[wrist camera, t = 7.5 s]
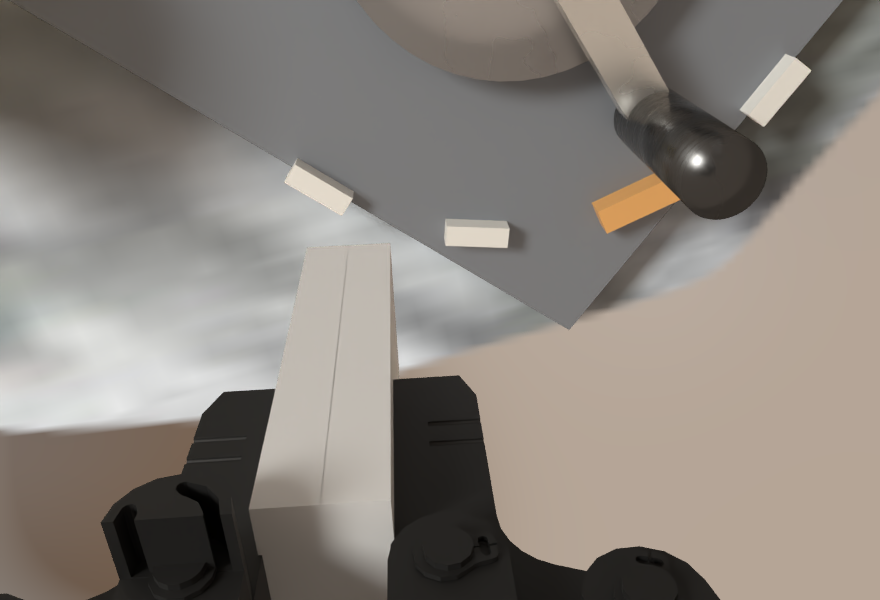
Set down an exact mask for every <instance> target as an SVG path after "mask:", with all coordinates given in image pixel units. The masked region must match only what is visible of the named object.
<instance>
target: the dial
mask: <svg viewBox="0 0 880 600" xmlns="http://www.w3.org/2000/svg"><path fill="white" fill-rule="evenodd" d="M658 1H659V0H357V2H358V3H359V4H360V6H361V7H362V8H363V9H364V11H365V12H366V13H367V14H368V16H369V17H370V18H371V19H372V20H373V22H374V23H375V24H376V25H377V26H378V27H379V28H380V29H381V30H383V31H384V32H385V33H386V34H387V35H388V36H389V37H390V38H391V39H392V40H393V41H395V42H396V43H397V44H399V45H400V46H401V47H403V48H404V49H405V50H407V51H408V52H409V53H411V54H412V55H414V56H416V57H418V58H420V59H421V60H423V61H425V62H427V63H429V64H430V65H432V66H435V67H438V68H440V69H443V70H445V71H448V72H450V73H453V74H456V75H461V76H465V77H469V78H473V79H479V80H488V81H498V82H502V81H524V80H530V79H536V78H542V77H546V76H550V75H553V74H556V73H560V72H563V71H566V70H569V69H571V68H573V67H575V66H578V65H580V64H582V63H584V62H586V61H589V62H590V63H591V65H592V67H593V68H594V70H595V72H596V74H597V75H598V77H599V79H600V80H601V82H602V84H603V86H604V87H605V89H606V91H607V92H608V94H609V96H610V98H611V99H612V101H613V103H614V104H615V106H616V109H615V112H614V128H615V131H616V134H617V136H618V137H619V138H620V140H621V141H622V142H623V143H624V144H625V145H626V146H627V147H628V148H629V149H630V150H631V151H632V152H633V153H634V154H635V155H636V156H637V157H638V158H639V159H640V160H641V161H642V162H643V163H644V164H645V165H646V166H647V167H648V168H649V169H650V170H651V171H652V172H653V173H654V174H655V175H656V176H657V177H658V178H659V179H660V180H661V181H662V182H663V183H664V184H665V185H666V186H667V187H668V188H669V189H670V190H671V191H672V192H673V193H674V194H675V195H676V196H677V197H678V198H679V199H680V200H681V201H682V202H683V203H684V204H685V205H686V206H687V207H688V208H689V209H690V210H691V211H692V212H694V213H695V214H697V215H698V216H700V217H703V218H707V219H714V220H718V219H726V218H729V217H732V216H735V215H737V214H739V213H741V212H742V211H744V210H745V209H747V208H748V207H749V206H750V205H751V204H752V203H753V202H754V201H755V200H756V199H757V197H758V196H759V194H760V193H761V191H762V189H763V187H764V184H765V181H766V177H767V163H766V158H765V156H764V154H763V152H762V150H761V149H760V148H759V147H758V146H757V145H756V144H755V143H754V142H752V141H751V140H749V139H748V138H746V137H745V136H743V135H742V134H740V133H738V132H737V131H735V130H734V129H732V128H731V127H729V126H728V125H726V124H725V123H723V122H721V121H720V120H718V119H717V118H715V117H714V116H712V115H711V114H709V113H708V112H706V111H704V110H703V109H701V108H700V107H698V106H697V105H695V104H694V103H692V102H690V101H689V100H687V99H686V98H684V97H683V96H681V95H680V94H678V93H677V92H675V91H673V90H672V89H670V88H669V87H667V86H666V85H665V83H664V81H663V79H662V77H661V75H660V74H659V72H658V70H657V68H656V66H655V64H654V63H653V61H652V59H651V57H650V55H649V53H648V52H647V50H646V48H645V46H644V44H643V42H642V41H641V39H640V37H639V35H638V33H637V31H636V30H635V28H634V27H635V26H636V25H637V24H638V23H639V22H640V21H641V20H642V19H643V18H644V17H645V16H646V15H647V14H648V13H649V12H650V11H651V9H652V8H653V7H654V6H655V4H656V3H657V2H658Z"/></svg>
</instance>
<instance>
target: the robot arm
mask: <svg viewBox="0 0 880 600" xmlns="http://www.w3.org/2000/svg"><path fill="white" fill-rule="evenodd" d="M101 525H102V528H103V531H104V534H105V537H106V540H107V543H108V546H109V549H110V551H111V555H112V558H113V561H114V563H115V567H116V570H117V573H118V576H119V578H120V580H119V583H118V585H117V586H116V587H114V588H112V589H111V590H109V591H107V592H105V593H103V594H100V595H98V596H96V597H93V598H90V599H88V600H720V599H719V598H718V596H717V595H716V594H715V593H714V591H713V590H712V588H711V587H710V586H709V584H708V583H707V582H706V580H705V579H704V578H703V577H701V576H700V575H699V574H698V573H697V572H696V571H695V570H694V569H693V568H692V567H691V566H690V565H689V564H688V563H686V562H684V561H682V560H680V559H678V558H676V557H674V556H672V555H670V554H668V553H666V552H664V551H660V550H655V549H649V548H645V547H630V548H620V549H615V550H613V551H611V552H609V553H606V554H605V555H602V556H600V557H598V558H597V559H596V560H595V561H594V563H593V564H592V565H591V566H590V568H589V569H588V570H587V571H583V570H578V569H573V568H569V567H564V566H559V565H554V564H551V563H548V562H545V561H541V560H538V559H536V558H534V557H532V556H530V555H528V554H527V553H525V552H523V551H521V550H520V549H519V548H518V547H516V546H515V545H514V544H513V543H512V542H510V541H509V539H508V538H507V536H506V535H505V534H504V532H503V531H502V530H501V528H500V525H499V521H498V519H497V515H496V509H495V504H494V498H493V492H492V486H491V480H490V474H489V468H488V463H487V456H486V450H485V445H484V441H483V433H482V427H481V423H480V415H479V409H478V403H477V397H476V394H475V393H474V392H473V391H472V390H471V389H470V387H469V386H468V385H467V384H466V383H465V382H464V381H463V380H462V379H461V377H460V376H443V377H427V378H410V379H399V364H398V349H397V335H396V321H395V307H394V292H393V278H392V264H391V250H390V243H384V244H365V245H347V246H328V247H309V248H307V251H306V255H305V259H304V264H303V268H302V273H301V277H300V282H299V286H298V291H297V295H296V300H295V304H294V309H293V313H292V318H291V322H290V327H289V331H288V336H287V340H286V344H285V349H284V353H283V358H282V362H281V367H280V371H279V376H278V380H277V385H276V389H265V390H249V391H232V392H223V393H222V394H221V395H220V396H219V397H218V398H217V400H216V401H215V402H214V403H213V404H212V405H211V406H210V407H209V408H208V409H207V410H206V411H205V412H204V413H203V414H202V416H201V419H200V422H199V425H198V428H197V431H196V434H195V437H194V443H193V444H192V445H191V448H190V451H189V454H188V456H187V464H185V465H184V468H183V471H182V474H180V475H175V476H169V477H164V478H159V479H156V480H153V481H151V482H149V483H146V484H144V485H142V486H140V487H137V488H135V489H133V490H132V491H130V492H129V493H128V494H127V495H125V496H124V497H123V498H121V499H120V500H119V501H117V502H116V503H115V504H114V505H113V506H112V507H111V509H110V510H109V512H108V513H107V515H106V516H105V517H104V519H103V520H102V522H101ZM0 600H23V599H20V598H17V597H15V596H12V595H9V594H0Z"/></svg>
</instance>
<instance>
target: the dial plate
mask: <svg viewBox="0 0 880 600" xmlns="http://www.w3.org/2000/svg"><path fill="white" fill-rule="evenodd" d="M9 1H11V2H13V3H14V4H16V5H18V6H19V7H21V8H23V9H24V10H26V11H28V12H30V13H31V14H33V15H35V16H36V17H38V18H40V19H41V20H43V21H45V22H47V23H48V24H50V25H52V26H53V27H55V28H57V29H58V30H60V31H62V32H64V33H65V34H67V35H69V36H70V37H72V38H74V39H75V40H77V41H79V42H81V43H82V44H84V45H86V46H87V47H89V48H91V49H92V50H94V51H96V52H98V53H99V54H101V55H103V56H104V57H106V58H108V59H109V60H111V61H113V62H115V63H116V64H118V65H120V66H121V67H123V68H125V69H126V70H128V71H130V72H132V73H133V74H135V75H137V76H138V77H140V78H142V79H143V80H145V81H147V82H149V83H150V84H152V85H154V86H155V87H157V88H159V89H160V90H162V91H164V92H166V93H167V94H169V95H171V96H172V97H174V98H176V99H177V100H179V101H181V102H183V103H184V104H186V105H188V106H189V107H191V108H193V109H194V110H196V111H198V112H200V113H201V114H203V115H205V116H206V117H208V118H210V119H211V120H213V121H215V122H217V123H218V124H220V125H222V126H223V127H225V128H227V129H228V130H230V131H232V132H234V133H235V134H237V135H239V136H240V137H242V138H244V139H245V140H247V141H249V142H251V143H252V144H254V145H256V146H257V147H259V148H261V149H262V150H264V151H266V152H268V153H269V154H271V155H273V156H274V157H276V158H278V159H280V160H281V161H283V162H285V163H286V164H288V165H290V166H291V167H292V168H291V170H290V171H289V173H288V175H287V177H286V180H285V182H284V183H286V184H288V185H289V186H291V187H293V188H295V189H296V190H298V191H300V192H301V193H303V194H305V195H307V196H308V197H310V198H312V199H314V200H315V201H317V202H319V203H320V204H322V205H324V206H326V207H327V208H329V209H331V210H333V211H334V212H336V213H338V214H339V215H341V216H342V215H343V213H344V212H345V210H346V209H347V207H348V205H349V204H350V202H353V203H354V204H356V205H358V206H359V207H361V208H363V209H365V210H366V211H368V212H370V213H371V214H373V215H375V216H376V217H378V218H380V219H382V220H383V221H385V222H387V223H388V224H390V225H392V226H393V227H395V228H397V229H399V230H400V231H402V232H404V233H405V234H407V235H409V236H410V237H412V238H414V239H416V240H417V241H419V242H421V243H422V244H424V245H426V246H427V247H429V248H431V249H433V250H434V251H436V252H438V253H439V254H441V255H443V256H444V257H446V258H448V259H450V260H451V261H453V262H455V263H456V264H458V265H460V266H461V267H463V268H465V269H467V270H468V271H470V272H472V273H473V274H475V275H477V276H478V277H480V278H482V279H484V280H485V281H487V282H489V283H490V284H492V285H494V286H495V287H497V288H499V289H501V290H502V291H504V292H506V293H507V294H509V295H511V296H512V297H514V298H516V299H518V300H519V301H521V302H523V303H524V304H526V305H528V306H529V307H531V308H533V309H535V310H536V311H538V312H540V313H541V314H543V315H545V316H546V317H548V318H550V319H552V320H553V321H555V322H557V323H558V324H560V325H562V326H563V327H565V328H567V329H570V328H571V327H572V326H573V325H574V323H575V322H576V321H577V320H578V319H579V317H580V316H581V315H582V314H583V313H584V311H585V310H586V309H587V308H588V307H589V305H590V304H591V303H592V302H593V301H594V299H595V298H596V297H597V296H598V295H599V293H600V292H601V291H602V290H603V289H604V287H605V286H606V285H607V284H608V283H609V281H610V280H611V279H612V278H613V276H614V275H615V274H616V273H617V272H618V270H619V269H620V268H621V267H622V266H623V264H624V263H625V262H626V261H627V260H628V258H629V257H630V256H631V255H632V254H633V252H634V251H635V250H636V249H637V248H638V246H639V245H640V244H641V243H642V242H643V240H644V239H645V238H646V237H647V236H648V234H649V233H650V232H651V231H652V230H653V228H654V227H655V226H656V225H657V224H658V222H659V221H660V220H661V219H662V217H663V216H664V215H665V214H666V213H667V211H668V210H669V209H670V208H671V207H672V205H673V204H674V203H675V202H677V201H679V200H680V199H679V198H678V197H677V196H676V195H675V194H674V193H673V192H672V191H671V190H670V189H669V188H668V187H667V186H666V185H665V184H664V183H663V182H662V181H661V180H660V179H659V178H658V177H657V176H656V175H655V174H654V173H653V172H652V171H651V170H650V169H649V168H648V167H647V166H646V165H645V164H644V163H643V162H642V161H641V160H640V159H639V158H638V157H637V156H636V155H635V154H634V153H633V152H632V151H631V150H630V149H629V148H628V147H627V146H626V145H625V144H624V143H623V142H622V141H621V140H620V138H619V137H618V136H617V134H616V131H615V128H614V112H615V109H616V106H615V104H614V103H613V101H612V99H611V98H610V96H609V94H608V92H607V91H606V89H605V87H604V86H603V84H602V82H601V80H600V79H599V77H598V75H597V74H596V72H595V70H594V68H593V67H592V65H591V63H590V62H589V61H586V62H584V63H582V64H580V65H578V66H575V67H573V68H571V69H569V70H566V71H563V72H560V73H556V74H553V75H550V76H546V77H542V78H536V79H530V80H524V81H502V82H498V81H488V80H479V79H473V78H469V77H465V76H461V75H456V74H453V73H450V72H448V71H445V70H443V69H440V68H438V67H435V66H432V65H430V64H429V63H427V62H425V61H423V60H421V59H420V58H418V57H416V56H414V55H412V54H411V53H409V52H408V51H407V50H405V49H404V48H403V47H401V46H400V45H399V44H397V43H396V42H395V41H393V40H392V39H391V38H390V37H389V36H388V35H387V34H386V33H385V32H384V31H383V30H381V29H380V28H379V27H378V26H377V25H376V24H375V23H374V22H373V20H372V19H371V18H370V17H369V16H368V14H367V13H366V12H365V11H364V9H363V8H362V7H361V6H360V4H359V3H358V2H357V0H9ZM842 1H843V0H659V1H658V2H657V3H656V4H655V6H654V7H653V8H652V9H651V11H650V12H649V13H648V14H647V15H646V16H645V17H644V18H643V19H642V20H641V21H640V22H639V23H638V24H637V25H636V26H635V27H634V28H635V30H636V31H637V33H638V35H639V37H640V39H641V41H642V42H643V44H644V46H645V48H646V50H647V52H648V53H649V55H650V57H651V59H652V61H653V63H654V64H655V66H656V68H657V70H658V72H659V74H660V75H661V77H662V79H663V81H664V83H665V85H666V86H667V87H669V88H670V89H672V90H673V91H675V92H677V93H678V94H680V95H681V96H683V97H684V98H686V99H687V100H689V101H690V102H692V103H694V104H695V105H697V106H698V107H700V108H701V109H703V110H704V111H706V112H708V113H709V114H711V115H712V116H714V117H715V118H717V119H718V120H720V121H721V122H723V123H725V124H726V125H728V126H729V127H731V128H732V129H734V130H736V128H737V127H738V126H739V125H740V124H741V122H742V121H743V120H744V119H745V118H746V116H748V117H749V118H751V119H752V120H753V121H754V122H756V123H758V124H760V125H761V126H763V127H764V126H765V125H766V124H767V123H768V122H769V120H770V119H771V118H772V117H773V116H774V115H775V113H776V112H777V111H778V110H779V109H780V107H781V106H782V105H783V104H784V103H785V101H786V100H787V99H788V98H789V97H790V96H791V94H792V93H793V92H794V91H795V90H796V88H797V87H798V86H799V85H800V84H801V83H802V81H803V80H804V79H805V78H806V77H807V75H808V74H809V73H810V72H811V70H810V69H809V68H808V67H806V66H805V65H804V64H803V63H802V62H800V61H799V60H798V59H797V58H795V57H796V56H797V55H798V54H799V52H800V51H801V50H802V49H803V48H804V46H805V45H806V44H807V43H808V42H809V40H810V39H811V38H812V37H813V36H814V34H815V33H816V32H817V31H818V30H819V28H820V27H821V26H822V25H823V24H824V22H825V21H826V20H827V19H828V18H829V16H830V15H831V14H832V13H833V12H834V10H835V9H836V8H837V7H838V6H839V4H840V3H841V2H842Z"/></svg>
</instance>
